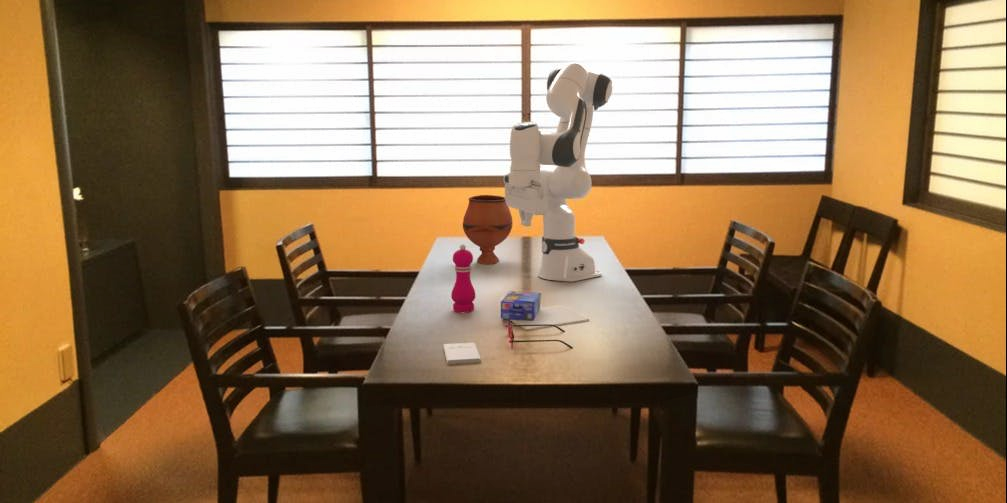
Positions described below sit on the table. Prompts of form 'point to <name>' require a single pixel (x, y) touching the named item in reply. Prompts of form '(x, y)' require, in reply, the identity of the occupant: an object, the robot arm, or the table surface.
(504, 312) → the ink cartridge box
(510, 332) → the glasses
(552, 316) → the felt mat
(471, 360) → the external hard drive
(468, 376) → the table surface
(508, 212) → the goblet
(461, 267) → the pepper mill
